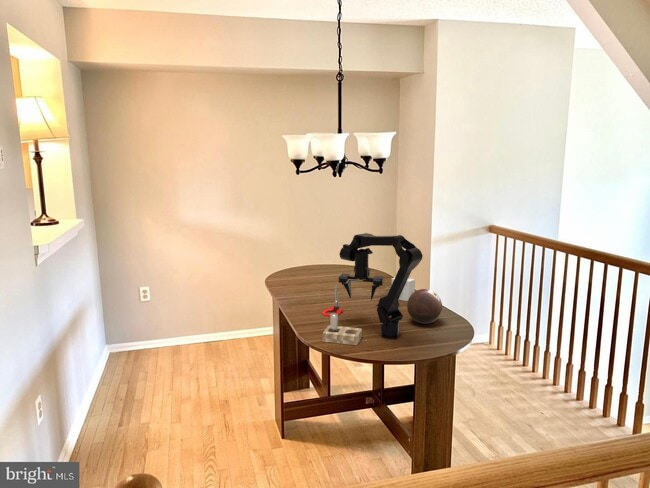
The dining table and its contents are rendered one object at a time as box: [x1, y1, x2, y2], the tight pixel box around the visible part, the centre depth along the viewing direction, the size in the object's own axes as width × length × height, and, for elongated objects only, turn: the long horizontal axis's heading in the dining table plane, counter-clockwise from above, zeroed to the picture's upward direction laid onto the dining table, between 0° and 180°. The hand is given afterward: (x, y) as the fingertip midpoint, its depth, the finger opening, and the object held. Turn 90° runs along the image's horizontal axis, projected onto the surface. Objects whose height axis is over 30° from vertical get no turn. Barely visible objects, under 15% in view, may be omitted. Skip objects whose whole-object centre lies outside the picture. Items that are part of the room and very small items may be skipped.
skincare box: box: [391, 276, 416, 302], centre depth 245 cm, size 10×6×10 cm, turn 54°
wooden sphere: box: [406, 288, 443, 325], centre depth 210 cm, size 15×15×15 cm
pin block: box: [322, 324, 363, 346], centre depth 192 cm, size 14×9×4 cm, turn 74°
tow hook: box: [322, 284, 344, 318], centre depth 222 cm, size 8×13×9 cm
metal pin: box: [329, 312, 339, 333], centre depth 193 cm, size 3×3×10 cm
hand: (361, 298), depth 205 cm, fingers open, 9 cm apart
